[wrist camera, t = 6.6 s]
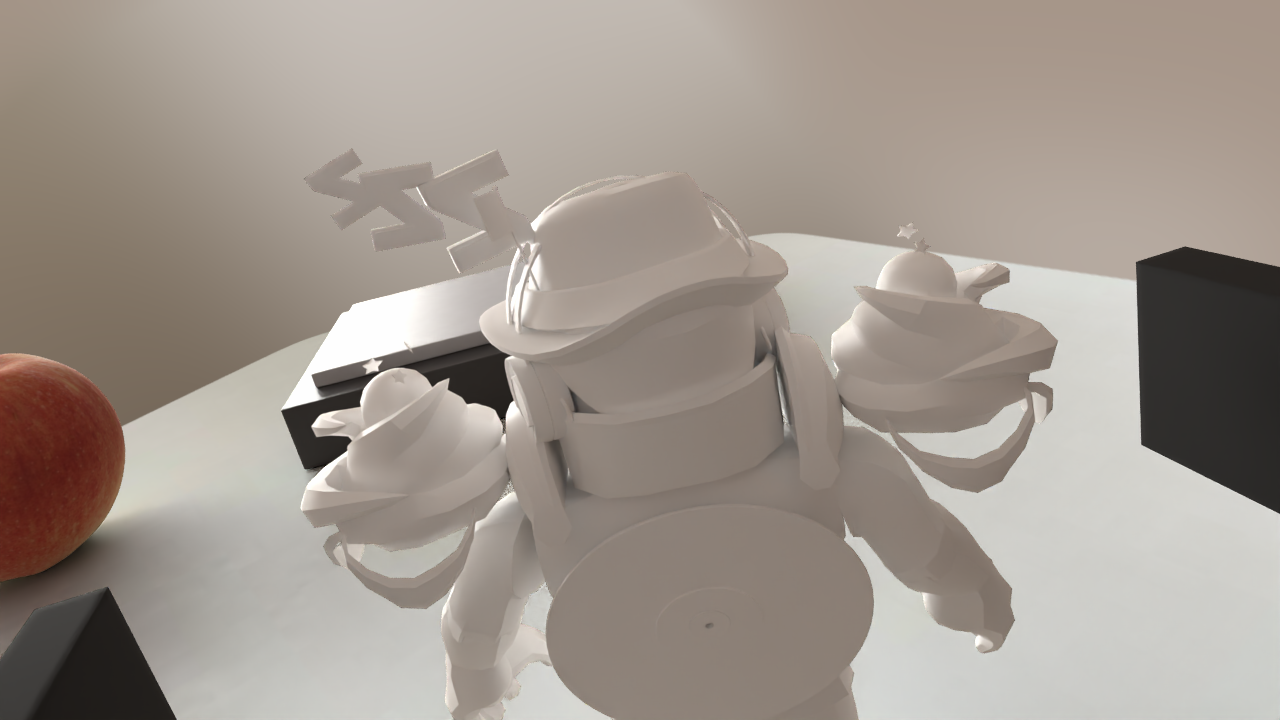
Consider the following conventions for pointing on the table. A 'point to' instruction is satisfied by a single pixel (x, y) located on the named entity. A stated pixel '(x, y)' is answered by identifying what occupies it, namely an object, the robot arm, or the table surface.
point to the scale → (404, 354)
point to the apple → (53, 462)
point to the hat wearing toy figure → (673, 454)
